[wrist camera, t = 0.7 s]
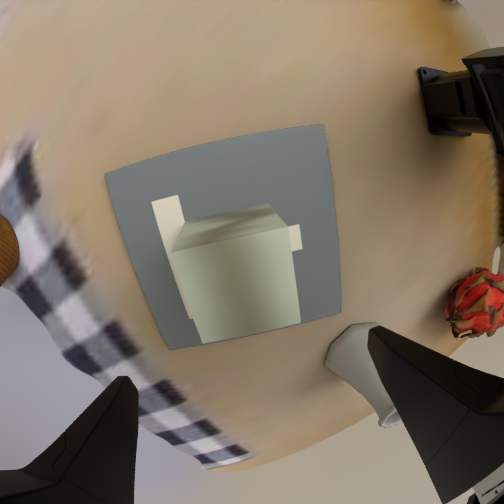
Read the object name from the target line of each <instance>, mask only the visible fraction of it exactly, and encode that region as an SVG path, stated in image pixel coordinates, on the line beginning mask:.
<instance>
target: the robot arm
mask: <svg viewBox="0 0 504 504" xmlns="http://www.w3.org/2000/svg"><path fill="white" fill-rule="evenodd" d="M462 61H463V63H464V65H466V67H467V70H464V71H458V72H452V73H449V72H445V71H441V70H436V69H432V68H427V67H420V68H419V69H418V72H419V76H420V81H421V85H422V90H423V95H424V100H425V106H426V112H427V118H428V125H429V131H430V133H431V134H432V135H455V136H471V133H480V134H489V135H492V136H493V140H494V143H495V147H496V155H497V158H498V159H500V160H502V161H504V47H496V48H491V49H485V50H481V51H479V52H476V53H474V54H472V55H469V56H467V57H464V58H462ZM423 71H424V73H423ZM367 348H368V351H369V354H370V356H371V358H372V361H373V363H374V365H375V368H376V370H377V373H378V375H379V378H380V380H381V382H382V384H383V386H384V388H385V390H386V392H387V393H388V395H389V397H390V399H391V401H392V403H393V404H394V406H395V408H396V410H397V412H398V414H399V416H400V417H401V419H402V421H403V423H404V425H405V427H406V429H407V431H408V433H409V435H410V437H411V439H412V440H413V443H414V444H415V446H416V449H417V451H418V453H419V455H420V457H421V459H422V460H423V463H424V465H425V467H426V469H427V471H428V474H429V476H430V478H431V480H432V482H433V484H434V486H435V489H436V490H437V493H438V495H439V498H440V500H441V502H442V504H446V503H448V502H450V501H451V500H453V499H455V498H456V497H458V496H460V495H461V494H463V493H464V492H466V491H467V490H469V489H470V488H472V487H473V489H474V491H475V493H474V494H473V495H472V496H470V497H469V499H468V502H467V504H504V378H501V377H498V376H495V375H492V374H488V373H485V372H482V371H480V370H477V369H474V368H471V367H469V366H467V365H464V364H462V363H460V362H457V361H455V360H454V361H453V359H451V358H449V357H447V356H444V355H442V354H440V353H438V352H436V351H434V350H431V349H429V348H427V347H425V346H423V345H421V344H418V343H416V342H414V341H412V340H410V339H408V338H406V337H403V336H401V335H399V334H397V333H395V332H393V331H391V330H389V329H386V328H384V327H382V326H375V327H372V328H370V329H369V332H368V341H367ZM138 402H139V394H138V390H137V388H136V387H135V385H134V384H133V382H132V381H131V379H130V378H129V377H128V376H118V377H117V378H116V379H115V380H114V381H113V382H112V383H111V384H110V385H109V386H108V387H107V388H106V389H105V390H104V391H103V392H102V393H101V394H100V395H99V396H98V397H97V398H96V399H95V400H94V401H93V403H91V404H90V405H89V407H87V409H86V410H85V411H84V412H83V413H82V414H81V415H80V416H79V417H78V418H77V419H76V420H75V421H74V422H73V423H72V424H71V425H70V426H69V427H68V428H67V429H66V430H65V432H63V433H62V434H61V436H60V437H59V438H58V439H57V440H56V441H55V442H54V443H53V444H51V446H49V447H48V448H47V449H46V450H45V451H44V452H42V453H41V454H40V455H39V456H38V457H37V458H35V459H34V460H33V461H32V462H31V463H30V464H28V465H27V466H26V467H24V468H21V469H17V470H0V504H134V480H135V463H136V449H137V438H138Z"/></svg>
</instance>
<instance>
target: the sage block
mask: <svg viewBox="0 0 504 504" xmlns="http://www.w3.org/2000/svg"><path fill="white" fill-rule="evenodd" d="M171 256H172V260H173V263H174V266H175V269H176V272H177V275H178V278H179V281H180V284H181V287H182V289H183V292H184V295H185V298H186V301H187V304H188V306H189V309H190V312H191V314H192V317H193V320H194V322H195V325H196V328H197V330H198V333H199V335H200V338H201V340H202V343H203V344H204V343H209V342H215V341H220V340H226V339H231V338H236V337H241V336H245V335H250V334H255V333H259V332H264V331H268V330H273V329H277V328H281V327H285V326H289V325H293V324H297V323H301V318H300V310H299V302H298V294H297V286H296V279H295V272H294V264H293V257H292V250H291V244H290V237H289V230H288V226H287V225H286V224H285V223H284V221H283V220H282V219H281V218H280V217H279V215H278V214H277V213H276V212H275V211H274V210H273V208H272V207H271V206H270V205H269V204H268V203H267V204H262V205H257V206H252V207H247V208H243V209H238V210H234V211H229V212H225V213H220V214H216V215H211V216H207V217H203V218H199V219H194V220H190V221H186V222H185V223H184V225H183V227H182V229H181V231H180V233H179V235H178V237H177V240H176V242H175V244H174V246H173V248H172V250H171Z"/></svg>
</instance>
